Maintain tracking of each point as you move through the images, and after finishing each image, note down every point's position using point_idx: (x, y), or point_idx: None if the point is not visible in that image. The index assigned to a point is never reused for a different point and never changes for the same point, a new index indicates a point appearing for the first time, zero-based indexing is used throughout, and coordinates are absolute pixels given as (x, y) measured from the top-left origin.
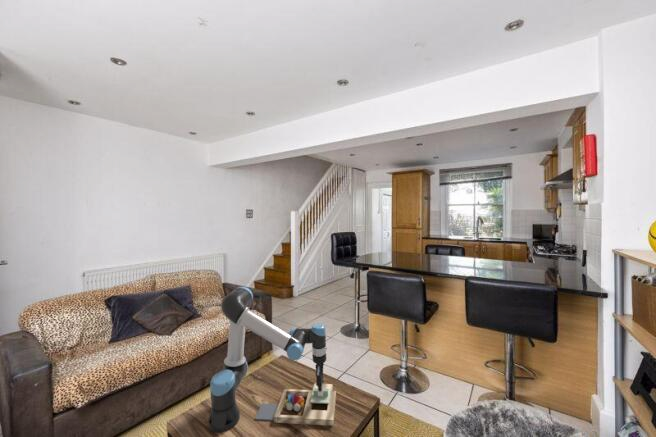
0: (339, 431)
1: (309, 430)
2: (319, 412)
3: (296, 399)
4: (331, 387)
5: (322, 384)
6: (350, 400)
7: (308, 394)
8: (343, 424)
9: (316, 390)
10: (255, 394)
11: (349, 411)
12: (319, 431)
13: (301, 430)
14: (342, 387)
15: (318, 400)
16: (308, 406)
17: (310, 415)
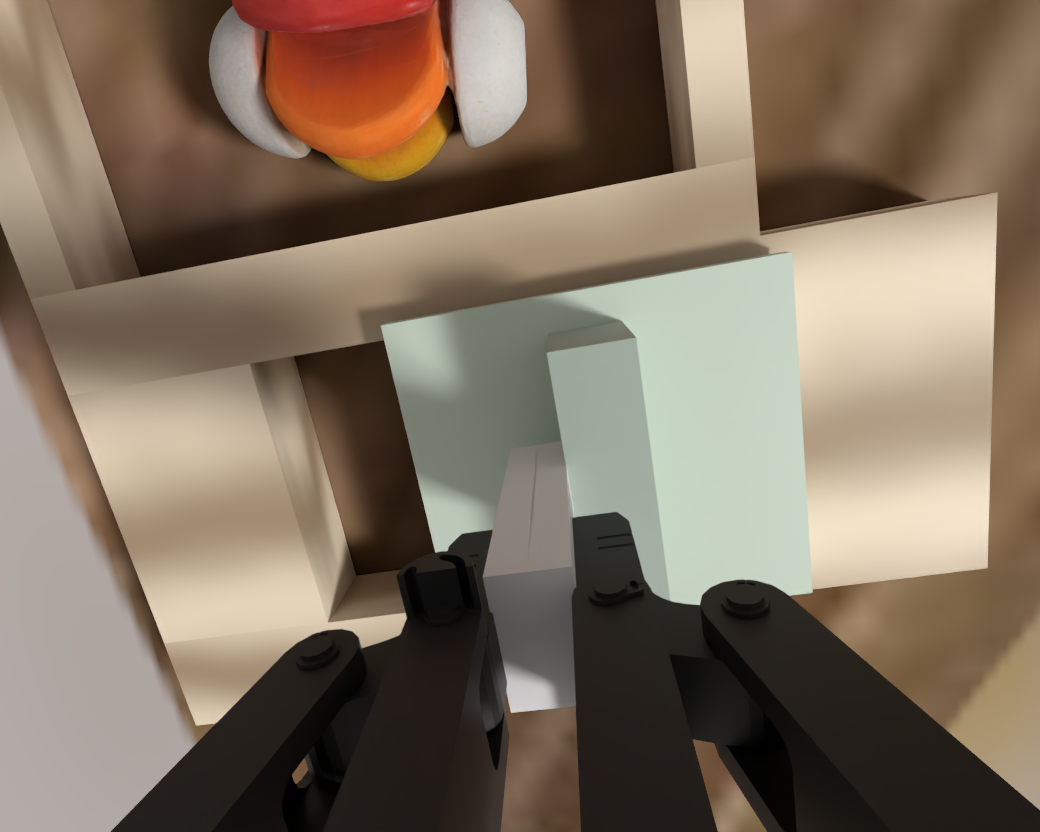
0: (193, 742)
1: (56, 425)
2: (251, 528)
3: (238, 12)
4: (885, 571)
5: (524, 710)
6: (706, 785)
7: (613, 195)
8: (299, 765)
9: (575, 422)
10: None
11: (511, 796)
12: (98, 545)
13: (8, 322)
14: (981, 655)
15: (457, 461)
16: (308, 312)
17: (139, 414)
